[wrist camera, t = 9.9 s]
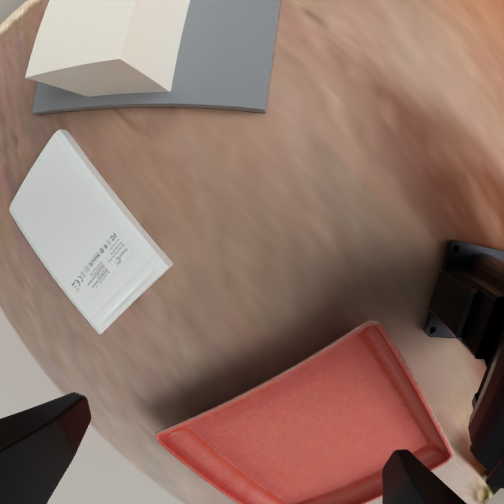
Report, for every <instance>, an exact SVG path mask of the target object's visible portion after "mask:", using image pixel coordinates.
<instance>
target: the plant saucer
mask: <svg viewBox="0 0 504 504" xmlns="http://www.w3.org/2000/svg"><path fill="white" fill-rule="evenodd" d="M155 439H156V440H157V441H158V443H159V444H161V445H162V446H163V447H164V448H165V449H166V450H168V451H169V452H170V453H171V454H172V455H174V456H175V457H176V458H177V459H178V460H179V461H181V462H182V463H183V464H185V465H186V466H187V467H188V468H190V469H191V470H192V471H193V472H195V473H196V474H197V475H199V476H200V477H201V478H203V479H204V480H205V481H207V482H208V483H209V484H210V485H212V486H213V487H215V488H216V489H218V490H219V491H221V492H222V493H223V494H225V495H226V496H228V497H229V498H231V499H232V500H234V501H235V502H237V503H238V504H367V503H369V502H372V501H374V500H376V499H379V498H381V497H383V489H382V470H383V467H384V465H385V463H386V462H387V460H388V459H389V457H390V456H391V454H392V453H393V451H395V450H400V449H407V450H409V451H410V452H411V453H412V454H413V455H414V456H415V457H417V458H418V459H419V460H420V461H421V462H422V463H423V464H424V465H425V466H426V467H427V468H428V469H429V470H430V471H431V472H432V471H434V470H436V469H437V468H439V467H441V466H442V465H444V464H446V463H447V462H449V461H450V460H451V459H452V458H453V456H454V452H453V450H452V448H451V446H450V444H449V442H448V440H447V438H446V436H445V434H444V432H443V430H442V428H441V426H440V424H439V422H438V420H437V419H436V417H435V415H434V413H433V411H432V409H431V407H430V405H429V404H428V402H427V399H426V397H425V395H424V394H423V392H422V390H421V388H420V387H419V385H418V383H417V381H416V380H415V378H414V376H413V374H412V372H411V370H410V369H409V367H408V366H407V364H406V362H405V360H404V358H403V357H402V355H401V353H400V351H399V350H398V348H397V346H396V345H395V343H394V341H393V339H392V338H391V336H390V335H389V333H388V331H387V330H386V328H385V327H384V325H383V324H382V323H381V322H379V321H376V320H369V321H366V322H364V323H362V324H360V325H359V326H357V327H356V328H354V329H353V330H351V331H350V332H348V333H346V334H345V335H343V336H342V337H340V338H339V339H337V340H335V341H334V342H332V343H331V344H329V345H327V346H326V347H324V348H322V349H321V350H319V351H318V352H316V353H314V354H313V355H311V356H309V357H308V358H306V359H304V360H303V361H301V362H299V363H297V364H296V365H294V366H292V367H290V368H289V369H287V370H285V371H283V372H281V373H280V374H278V375H276V376H274V377H272V378H271V379H269V380H267V381H265V382H263V383H261V384H259V385H257V386H255V387H253V388H252V389H250V390H248V391H246V392H244V393H242V394H240V395H238V396H236V397H234V398H232V399H230V400H227V401H225V402H223V403H221V404H219V405H217V406H215V407H213V408H210V409H208V410H206V411H204V412H202V413H200V414H197V415H195V416H193V417H191V418H188V419H186V420H184V421H181V422H179V423H177V424H174V425H172V426H169V427H167V428H164V429H162V430H160V431H158V432H156V434H155Z"/></svg>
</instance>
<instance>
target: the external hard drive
mask: <svg viewBox="0 0 504 504" xmlns="http://www.w3.org/2000/svg"><path fill="white" fill-rule="evenodd" d="M9 211H10V213H11V215H12V217H13V218H14V220H15V222H16V223H17V225H18V226H19V228H20V230H21V231H22V233H23V234H24V236H25V238H26V239H27V241H28V242H29V244H30V245H31V247H32V248H33V250H34V251H35V253H36V254H37V256H38V257H39V258H40V260H41V261H42V263H43V264H44V266H45V267H46V268H47V270H48V271H49V273H50V274H51V275H52V277H53V278H54V279H55V281H56V282H57V283H58V285H59V286H60V287H61V289H62V290H63V291H64V293H65V294H66V295H67V296H68V298H69V299H70V300H71V301H72V303H73V304H74V305H75V306H76V308H77V309H78V310H79V311H80V312H81V314H82V315H83V316H84V317H85V318H86V320H87V321H88V322H89V323H90V324H91V326H92V327H93V328H94V329H95V330H96V331H97V332H98V334H99V335H101V334H102V333H103V332H104V331H105V330H106V329H107V328H108V327H109V326H110V325H111V324H112V323H113V322H114V321H115V320H116V319H117V318H118V317H119V316H120V315H121V314H122V313H123V312H124V311H125V310H126V309H127V308H128V307H129V306H130V305H131V304H132V303H133V302H134V301H135V300H136V299H137V298H138V297H139V296H140V295H141V294H143V293H144V292H145V291H146V290H147V289H148V288H149V287H150V286H151V285H152V284H153V283H154V282H155V281H156V280H157V279H159V278H160V277H161V276H162V275H163V274H164V273H165V272H166V271H167V270H168V269H169V268H170V267H171V266H172V265H173V262H172V261H171V260H170V259H169V258H168V257H167V255H166V254H165V253H164V252H163V251H162V250H161V249H160V247H159V246H158V245H157V244H156V243H155V242H154V240H153V239H152V238H151V237H150V236H149V234H148V233H147V232H146V231H145V230H144V228H143V227H142V226H141V225H140V224H139V222H138V221H137V220H136V219H135V217H134V216H133V215H132V214H131V212H130V211H129V210H128V209H127V207H126V206H125V205H124V204H123V203H122V201H121V200H120V199H119V198H118V196H117V195H116V194H115V192H114V191H113V190H112V189H111V187H110V186H109V185H108V184H107V182H106V181H105V180H104V179H103V177H102V176H101V175H100V173H99V172H98V171H97V169H96V168H95V167H94V165H93V164H92V163H91V161H90V160H89V159H88V157H87V156H86V155H85V153H84V152H83V151H82V149H81V148H80V147H79V145H78V144H77V142H76V141H75V140H74V138H73V137H72V136H71V134H70V133H69V132H68V130H63V129H59V130H57V131H56V132H55V133H54V135H53V136H52V137H51V139H50V140H49V142H48V143H47V144H46V146H45V148H44V149H43V150H42V152H41V153H40V155H39V157H38V158H37V160H36V161H35V163H34V165H33V166H32V168H31V169H30V171H29V173H28V175H27V176H26V178H25V179H24V181H23V183H22V185H21V186H20V188H19V190H18V192H17V194H16V195H15V197H14V199H13V201H12V203H11V205H10V207H9Z"/></svg>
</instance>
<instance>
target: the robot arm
mask: <svg viewBox="0 0 504 504" xmlns="http://www.w3.org/2000/svg"><path fill="white" fill-rule="evenodd" d="M455 245H456V250H455V251H453V247H454V246H455ZM429 309H430V312H429V315H428V318H427V321H426V324H425V327H424V332H425V333H426V334H427V335H428V336H429V337H441V338H456V339H459V341H460V342H461V343H462V344H463V345H464V346H465V347H466V348H467V349H468V350H469V351H470V353H471V354H472V355H473V356H474V357H475V358H476V359H479V360H480V361H481V362H482V364H483V365H484V366H485V367H486V368H487V369H486V371H485V374H484V377H483V379H482V382H481V385H480V387H479V390H478V392H477V393H476V394H475V395H474V398H473V400H472V405H473V412H472V414H471V417H470V422H469V427H468V429H469V434H470V439H471V442H472V444H471V446H470V451H471V452H472V454H473V455H474V457H475V458H476V460H477V461H478V462H479V463H480V464H481V465H483V466H484V467H485V468H486V469H487V470H489V471H490V472H491V474H490V475H489V476H488V478H487V479H486V483H487V484H488V485H492V486H496V487H500V488H504V251H500V250H496V249H492V248H488V247H484V246H480V245H475V244H471V243H467V242H462V241H458V240H451V241H450V242H449V243H448V245H447V249H446V253H445V258H444V262H443V266H442V270H441V272H440V273H439V276H438V279H437V283H436V287H435V290H434V294H433V297H432V301H431V304H430V307H429ZM431 327H434V328H433V329H432V330H431V331H429V330H430V328H431ZM90 421H91V413H90V409H89V404H88V400H87V398H86V397H85V396H84V395H81V394H79V393H76V392H73V393H70V394H67V395H65V396H62V397H60V398H57V399H54V400H52V401H49V402H47V403H44V404H42V405H38V406H36V407H33V408H30V409H28V410H25V411H22V412H19V413H16V414H13V415H10V416H7V417H4V418H1V419H0V504H47V502H48V500H49V498H50V497H51V495H52V493H53V492H54V490H55V488H56V487H57V485H58V483H59V481H60V480H61V478H62V477H63V475H64V473H65V472H66V470H67V468H68V467H69V465H70V463H71V461H72V460H73V458H74V456H75V454H76V452H77V449H78V447H79V445H80V443H81V441H82V438H83V436H84V434H85V432H86V430H87V428H88V425H89V423H90ZM382 489H383V504H466V503H465V502H464V501H463V500H462V499H461V498H460V497H459V496H458V495H456V494H455V493H454V492H453V491H452V490H451V489H450V488H449V487H448V486H447V485H445V484H444V483H443V482H442V481H441V480H440V479H439V478H438V477H437V476H436V475H435V474H434V473H433V472H431V471H430V470H429V469H428V468H427V467H426V466H425V465H424V464H423V463H422V462H421V461H420V460H419V459H418V458H417V457H415V456H414V455H413V454H412V453H411V452H410V451H409V450H407V449H400V450H395V451H393V453H392V454H391V456H390V457H389V459H388V460H387V462H386V463H385V465H384V467H383V470H382Z"/></svg>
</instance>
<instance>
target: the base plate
mask: <svg viewBox="0 0 504 504" xmlns="http://www.w3.org/2000/svg"><path fill="white" fill-rule="evenodd" d="M280 6H281V0H190V3H189V7H188V11H187V15H186V19H185V23H184V28H183V32H182V36H181V41H180V46H179V50H178V55H177V60H176V65H175V71H174V76H173V81H172V87H171V92H152V93H129V94H114V95H102V96H92V97H86V96H83V95H80V94H77V93H74V92H71V91H68V90H65V89H61V88H58V87H55V86H52V85H48V84H45V83H41V82H38V83H37V88H36V93H35V98H34V103H33V109H32V113H33V114H39V115H42V114H49V113H57V112H67V111H77V110H88V109H103V108H123V107H191V108H212V109H227V110H240V111H250V112H260V113H266V107H267V100H268V93H269V85H270V78H271V71H272V63H273V56H274V49H275V42H276V35H277V27H278V20H279V13H280Z"/></svg>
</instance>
